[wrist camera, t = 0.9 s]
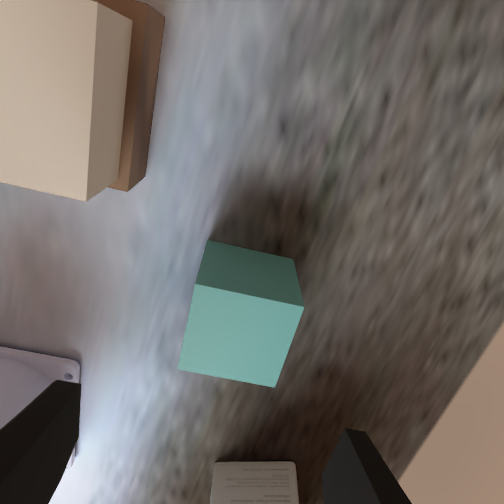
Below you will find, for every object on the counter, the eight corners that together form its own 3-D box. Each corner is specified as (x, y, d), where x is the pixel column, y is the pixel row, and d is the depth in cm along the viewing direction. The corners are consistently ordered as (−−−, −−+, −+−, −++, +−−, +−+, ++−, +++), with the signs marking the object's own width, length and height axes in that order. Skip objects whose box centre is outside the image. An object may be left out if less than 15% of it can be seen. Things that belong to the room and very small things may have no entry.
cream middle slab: (117, 179, 14) (86, 201, 12) (-28, 144, 14) (-97, 159, 11) (132, 20, 12) (97, 2, 9) (-41, -29, 12) (-132, -63, 9)
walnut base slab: (147, 174, 17) (127, 191, 15) (5, 140, 17) (-43, 152, 14) (167, 18, 15) (147, 4, 12) (-1, -30, 14) (-63, -57, 11)
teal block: (270, 327, 21) (274, 387, 17) (192, 311, 20) (177, 369, 16) (293, 258, 19) (304, 307, 15) (207, 239, 18) (195, 283, 14)
